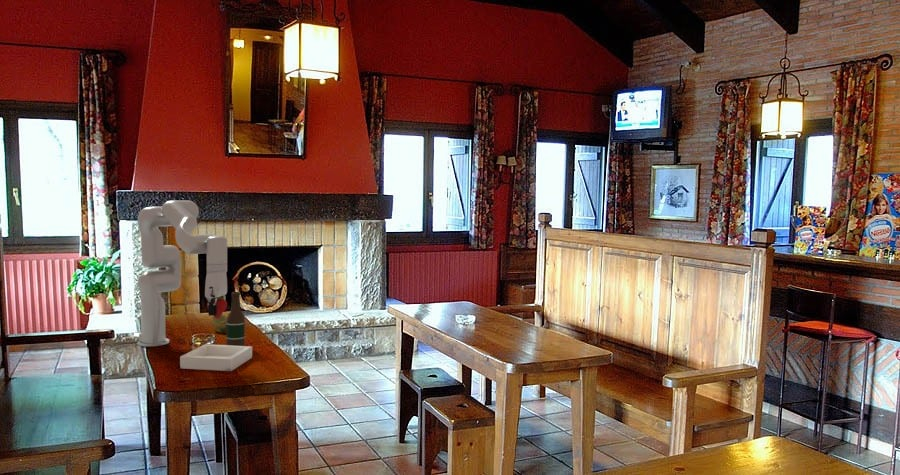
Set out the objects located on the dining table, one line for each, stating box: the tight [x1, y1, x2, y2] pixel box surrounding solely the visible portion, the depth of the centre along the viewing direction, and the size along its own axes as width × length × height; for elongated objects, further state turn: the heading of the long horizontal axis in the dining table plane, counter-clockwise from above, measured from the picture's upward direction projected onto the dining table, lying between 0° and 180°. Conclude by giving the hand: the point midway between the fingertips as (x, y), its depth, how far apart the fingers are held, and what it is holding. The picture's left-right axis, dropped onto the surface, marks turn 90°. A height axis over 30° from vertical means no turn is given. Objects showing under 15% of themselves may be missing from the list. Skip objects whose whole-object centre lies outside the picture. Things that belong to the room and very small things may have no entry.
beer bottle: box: [225, 291, 246, 346], centre depth 279 cm, size 8×8×24 cm
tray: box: [179, 343, 253, 372], centre depth 255 cm, size 20×20×4 cm
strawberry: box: [206, 297, 228, 318], centre depth 254 cm, size 6×8×10 cm
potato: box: [211, 313, 228, 334], centre depth 309 cm, size 8×13×8 cm, turn 25°
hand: (217, 313), depth 254 cm, fingers closed on strawberry, 6 cm apart
